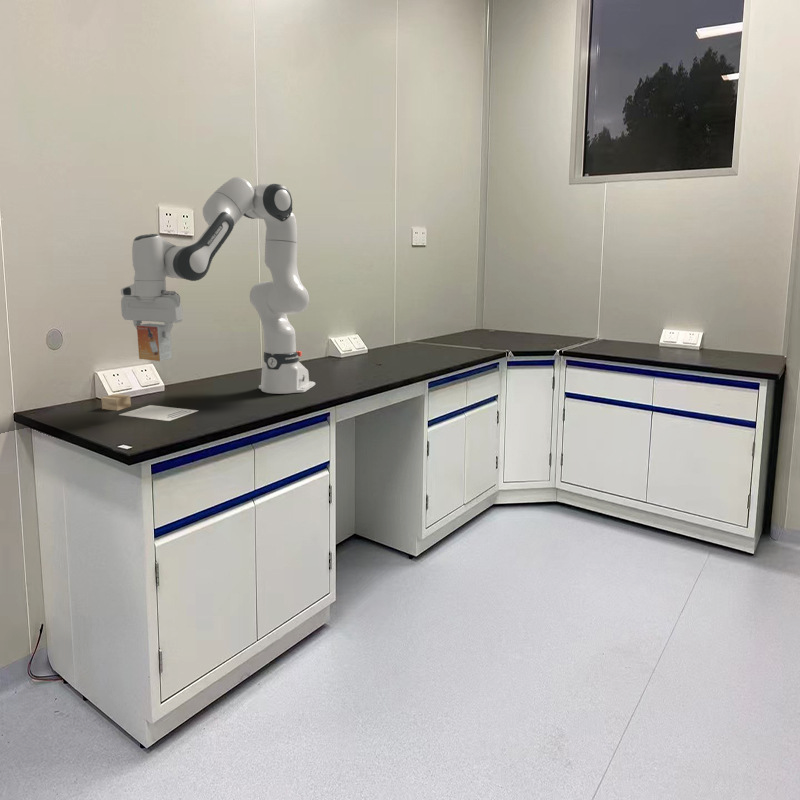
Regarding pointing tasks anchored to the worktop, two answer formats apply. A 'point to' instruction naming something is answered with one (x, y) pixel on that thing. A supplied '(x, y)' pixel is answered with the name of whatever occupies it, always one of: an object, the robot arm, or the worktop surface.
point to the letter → (159, 412)
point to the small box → (153, 342)
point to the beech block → (116, 402)
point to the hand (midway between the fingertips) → (153, 336)
